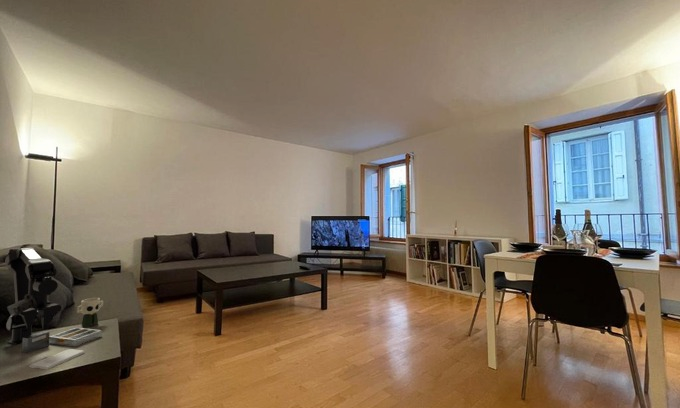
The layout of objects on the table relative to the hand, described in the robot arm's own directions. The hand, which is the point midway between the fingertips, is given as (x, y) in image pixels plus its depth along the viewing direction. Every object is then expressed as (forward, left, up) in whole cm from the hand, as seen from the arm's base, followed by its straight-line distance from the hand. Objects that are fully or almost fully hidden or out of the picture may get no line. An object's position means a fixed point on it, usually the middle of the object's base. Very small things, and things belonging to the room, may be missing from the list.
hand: (36, 328), depth 116 cm
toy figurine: (-6, +24, -9) cm, 27 cm away
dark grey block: (0, 0, -8) cm, 8 cm away
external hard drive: (+20, -5, -9) cm, 23 cm away
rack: (+6, +10, -8) cm, 15 cm away
